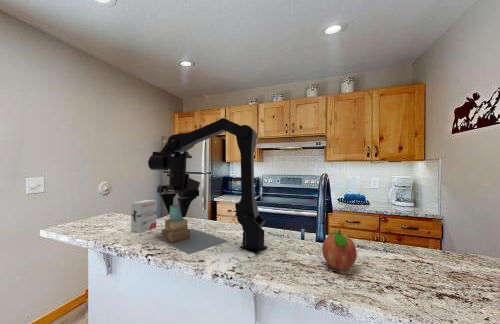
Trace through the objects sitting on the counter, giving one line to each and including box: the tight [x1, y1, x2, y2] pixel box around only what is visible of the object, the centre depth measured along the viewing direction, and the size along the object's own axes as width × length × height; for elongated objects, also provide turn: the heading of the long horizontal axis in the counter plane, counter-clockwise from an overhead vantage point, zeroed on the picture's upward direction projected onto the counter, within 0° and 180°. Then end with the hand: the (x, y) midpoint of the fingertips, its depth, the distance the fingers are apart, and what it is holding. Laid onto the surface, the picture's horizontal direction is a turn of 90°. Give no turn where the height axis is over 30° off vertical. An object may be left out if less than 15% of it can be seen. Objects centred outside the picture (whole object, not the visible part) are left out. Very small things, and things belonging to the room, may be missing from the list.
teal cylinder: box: [169, 204, 184, 222], centre depth 77 cm, size 5×5×5 cm
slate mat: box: [154, 228, 229, 255], centre depth 77 cm, size 22×16×1 cm
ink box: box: [130, 199, 158, 234], centre depth 87 cm, size 8×5×12 cm, turn 160°
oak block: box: [164, 218, 188, 233], centre depth 77 cm, size 6×6×3 cm
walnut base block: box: [161, 227, 191, 244], centre depth 77 cm, size 7×7×3 cm
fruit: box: [321, 229, 358, 271], centre depth 59 cm, size 9×10×10 cm
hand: (176, 214), depth 77 cm, fingers open, 9 cm apart
